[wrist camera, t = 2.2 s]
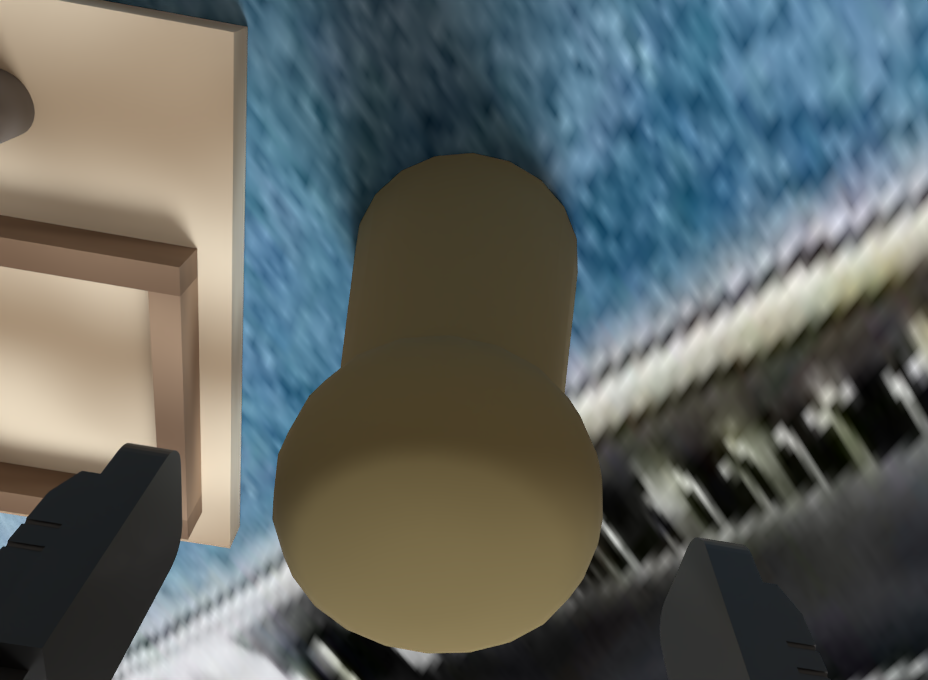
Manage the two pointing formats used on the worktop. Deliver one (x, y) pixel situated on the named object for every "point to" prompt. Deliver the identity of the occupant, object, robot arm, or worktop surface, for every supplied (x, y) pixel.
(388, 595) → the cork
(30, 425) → the socket plate
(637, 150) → the worktop surface
